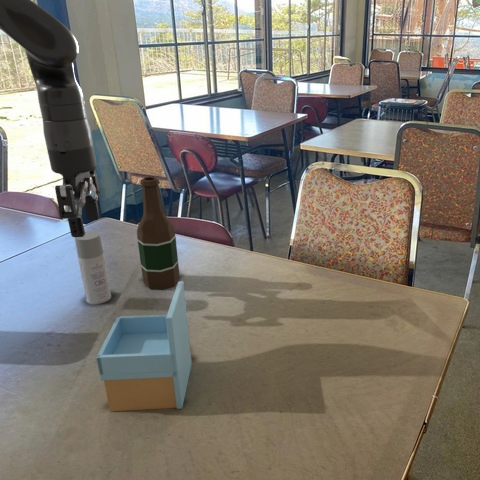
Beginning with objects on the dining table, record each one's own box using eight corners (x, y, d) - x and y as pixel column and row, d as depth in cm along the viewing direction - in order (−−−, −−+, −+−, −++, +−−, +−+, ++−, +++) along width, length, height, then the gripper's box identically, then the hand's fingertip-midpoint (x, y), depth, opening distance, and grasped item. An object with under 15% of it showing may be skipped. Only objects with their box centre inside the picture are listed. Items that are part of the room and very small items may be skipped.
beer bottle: (179, 272, 112) (168, 172, 102) (181, 288, 105) (170, 182, 96) (143, 276, 110) (129, 174, 100) (143, 292, 103) (128, 185, 93)
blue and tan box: (107, 413, 71) (88, 321, 64) (125, 367, 80) (111, 283, 74) (182, 409, 72) (171, 318, 65) (191, 364, 81) (183, 280, 75)
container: (101, 310, 96) (88, 241, 90) (82, 306, 97) (68, 238, 91) (116, 298, 100) (105, 232, 94) (98, 295, 102) (85, 229, 96)
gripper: (63, 135, 92) (79, 215, 98) (30, 153, 79) (50, 243, 85) (104, 135, 93) (117, 214, 99) (77, 153, 80) (94, 242, 86)
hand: (86, 227), depth 92 cm, fingers open, 8 cm apart
